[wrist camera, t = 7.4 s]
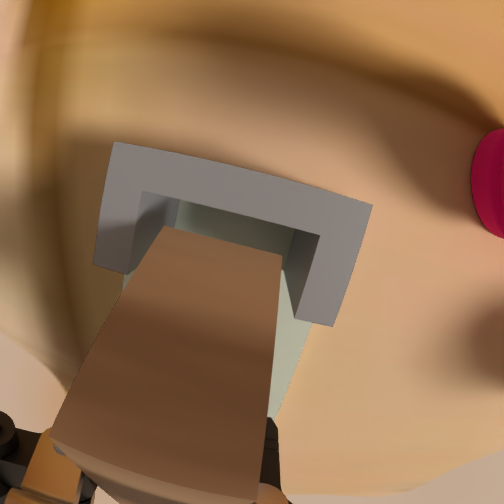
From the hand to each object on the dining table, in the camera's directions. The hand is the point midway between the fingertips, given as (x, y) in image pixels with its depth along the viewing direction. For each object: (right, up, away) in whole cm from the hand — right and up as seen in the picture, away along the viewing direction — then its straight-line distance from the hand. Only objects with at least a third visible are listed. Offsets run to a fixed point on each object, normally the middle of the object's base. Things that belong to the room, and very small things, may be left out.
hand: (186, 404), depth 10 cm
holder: (0, +1, +6) cm, 6 cm away
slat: (0, +1, +2) cm, 2 cm away
